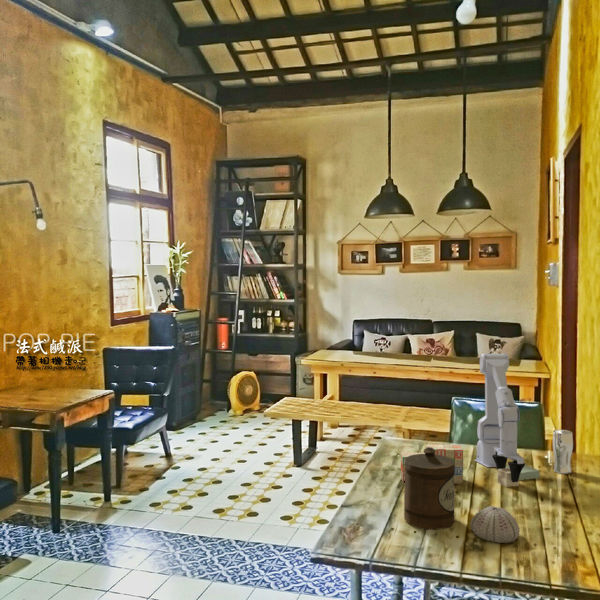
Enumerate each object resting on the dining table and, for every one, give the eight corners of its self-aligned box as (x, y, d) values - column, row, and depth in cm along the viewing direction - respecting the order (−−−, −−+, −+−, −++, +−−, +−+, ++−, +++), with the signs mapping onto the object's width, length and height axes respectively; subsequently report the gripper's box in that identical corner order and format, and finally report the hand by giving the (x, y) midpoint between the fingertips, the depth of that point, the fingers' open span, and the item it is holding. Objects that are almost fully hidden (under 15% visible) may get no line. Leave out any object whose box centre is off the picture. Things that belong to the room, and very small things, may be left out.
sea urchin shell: (486, 523, 182) (486, 496, 182) (529, 537, 172) (529, 509, 172) (461, 535, 174) (461, 507, 173) (504, 551, 163) (504, 521, 163)
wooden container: (455, 531, 176) (455, 456, 175) (403, 527, 179) (403, 453, 178) (453, 512, 191) (453, 442, 190) (405, 509, 194) (405, 440, 193)
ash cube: (497, 482, 218) (497, 469, 218) (509, 481, 219) (509, 467, 219) (506, 487, 213) (506, 473, 213) (518, 486, 214) (518, 471, 214)
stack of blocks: (402, 482, 219) (402, 448, 218) (400, 477, 225) (400, 443, 224) (463, 483, 217) (463, 449, 217) (460, 478, 223) (460, 444, 223)
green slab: (503, 473, 229) (503, 465, 229) (523, 471, 231) (523, 463, 231) (518, 481, 220) (518, 473, 220) (539, 478, 223) (539, 470, 223)
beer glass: (575, 474, 226) (576, 434, 226) (556, 474, 226) (557, 434, 226) (567, 468, 233) (568, 429, 233) (549, 468, 233) (549, 429, 233)
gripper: (486, 436, 221) (486, 473, 222) (511, 446, 207) (511, 486, 208) (503, 434, 223) (503, 471, 224) (529, 444, 209) (528, 484, 210)
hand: (508, 478), depth 216 cm, fingers open, 7 cm apart
